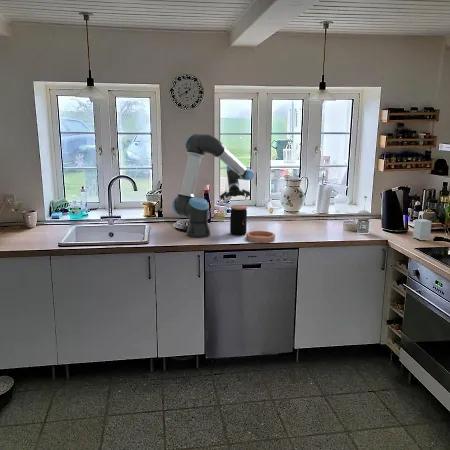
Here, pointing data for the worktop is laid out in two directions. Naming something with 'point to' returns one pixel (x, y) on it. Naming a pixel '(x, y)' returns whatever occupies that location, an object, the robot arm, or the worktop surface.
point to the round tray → (260, 236)
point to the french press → (359, 222)
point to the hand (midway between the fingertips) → (235, 199)
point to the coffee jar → (238, 220)
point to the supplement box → (422, 229)
